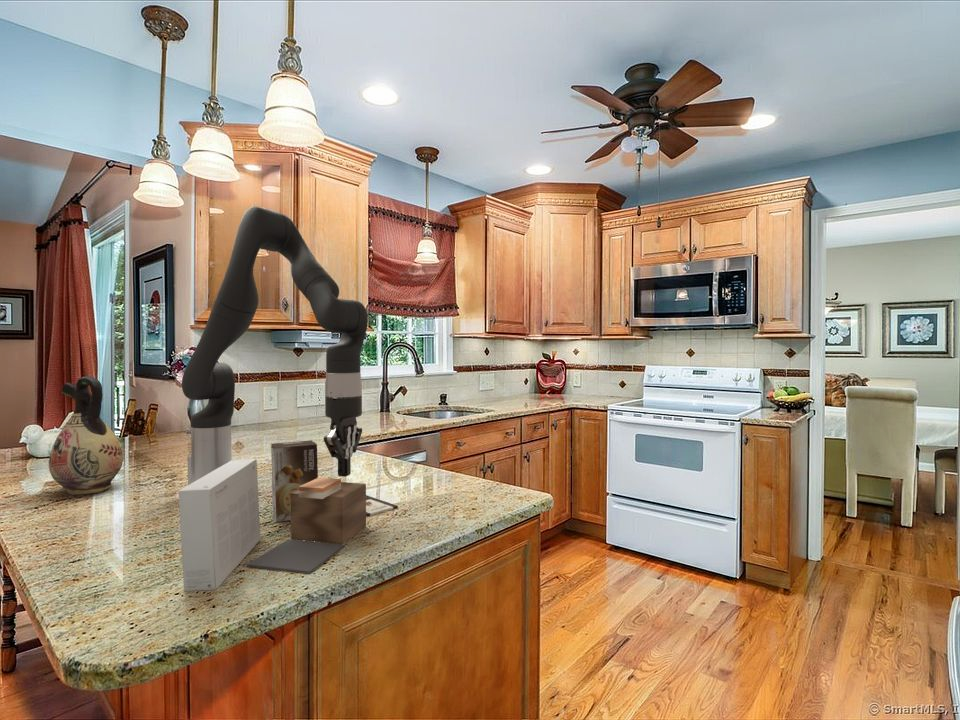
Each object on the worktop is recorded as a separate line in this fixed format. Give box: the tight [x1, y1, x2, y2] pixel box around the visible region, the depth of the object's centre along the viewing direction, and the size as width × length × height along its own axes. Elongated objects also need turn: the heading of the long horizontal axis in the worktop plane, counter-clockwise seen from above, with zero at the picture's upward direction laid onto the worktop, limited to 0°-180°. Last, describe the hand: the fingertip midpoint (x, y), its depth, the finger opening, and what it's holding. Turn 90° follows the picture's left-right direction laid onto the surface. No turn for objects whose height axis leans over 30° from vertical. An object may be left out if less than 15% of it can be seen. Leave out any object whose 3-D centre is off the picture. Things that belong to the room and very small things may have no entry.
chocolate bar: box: [366, 494, 399, 517], centre depth 124 cm, size 9×1×18 cm
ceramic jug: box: [48, 375, 124, 496], centre depth 135 cm, size 17×15×30 cm
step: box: [290, 481, 367, 545], centre depth 105 cm, size 11×10×9 cm
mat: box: [245, 538, 346, 575], centre depth 93 cm, size 12×12×1 cm
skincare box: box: [178, 458, 262, 592], centre depth 90 cm, size 21×5×16 cm, turn 5°
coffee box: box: [270, 440, 319, 523], centre depth 116 cm, size 9×6×16 cm
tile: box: [299, 477, 342, 499], centre depth 101 cm, size 5×7×2 cm
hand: (344, 475), depth 111 cm, fingers closed
